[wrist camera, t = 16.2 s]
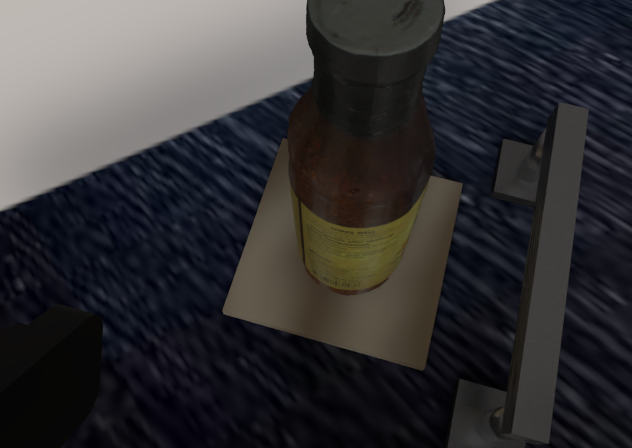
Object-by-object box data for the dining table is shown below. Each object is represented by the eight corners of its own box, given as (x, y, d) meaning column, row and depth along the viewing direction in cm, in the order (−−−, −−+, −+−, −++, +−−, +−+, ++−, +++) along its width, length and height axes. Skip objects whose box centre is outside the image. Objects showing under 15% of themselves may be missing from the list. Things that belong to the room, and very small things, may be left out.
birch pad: (459, 188, 37) (462, 183, 36) (422, 370, 32) (424, 368, 32) (283, 144, 38) (282, 138, 37) (224, 314, 34) (222, 311, 33)
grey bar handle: (559, 159, 38) (612, 96, 31) (516, 474, 30) (573, 481, 24) (499, 144, 38) (540, 79, 31) (443, 453, 31) (479, 453, 24)
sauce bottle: (419, 268, 34) (548, 49, 15) (328, 318, 33) (351, 145, 14) (363, 182, 36) (418, -101, 18) (276, 226, 35) (237, -28, 16)
